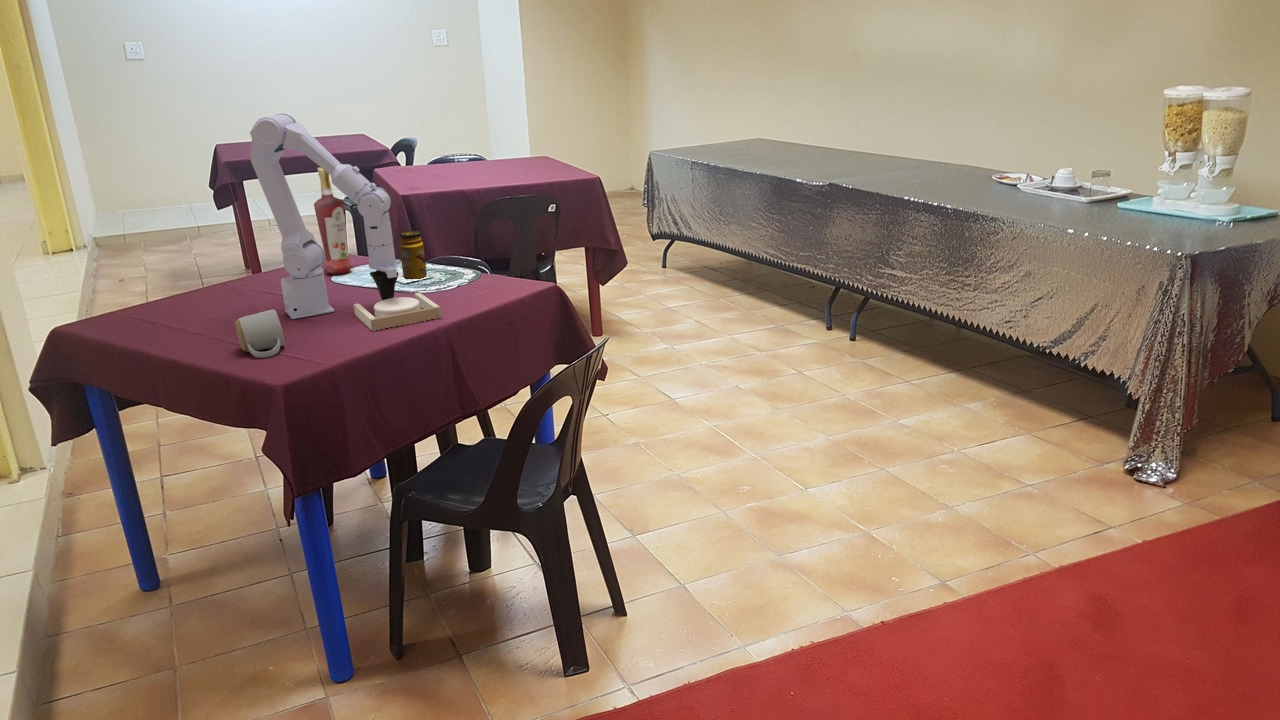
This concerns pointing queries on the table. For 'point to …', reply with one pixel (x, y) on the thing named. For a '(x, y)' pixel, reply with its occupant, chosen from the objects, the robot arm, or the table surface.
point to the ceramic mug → (260, 333)
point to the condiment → (412, 255)
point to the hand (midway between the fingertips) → (387, 301)
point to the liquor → (332, 227)
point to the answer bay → (400, 315)
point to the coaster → (396, 306)
